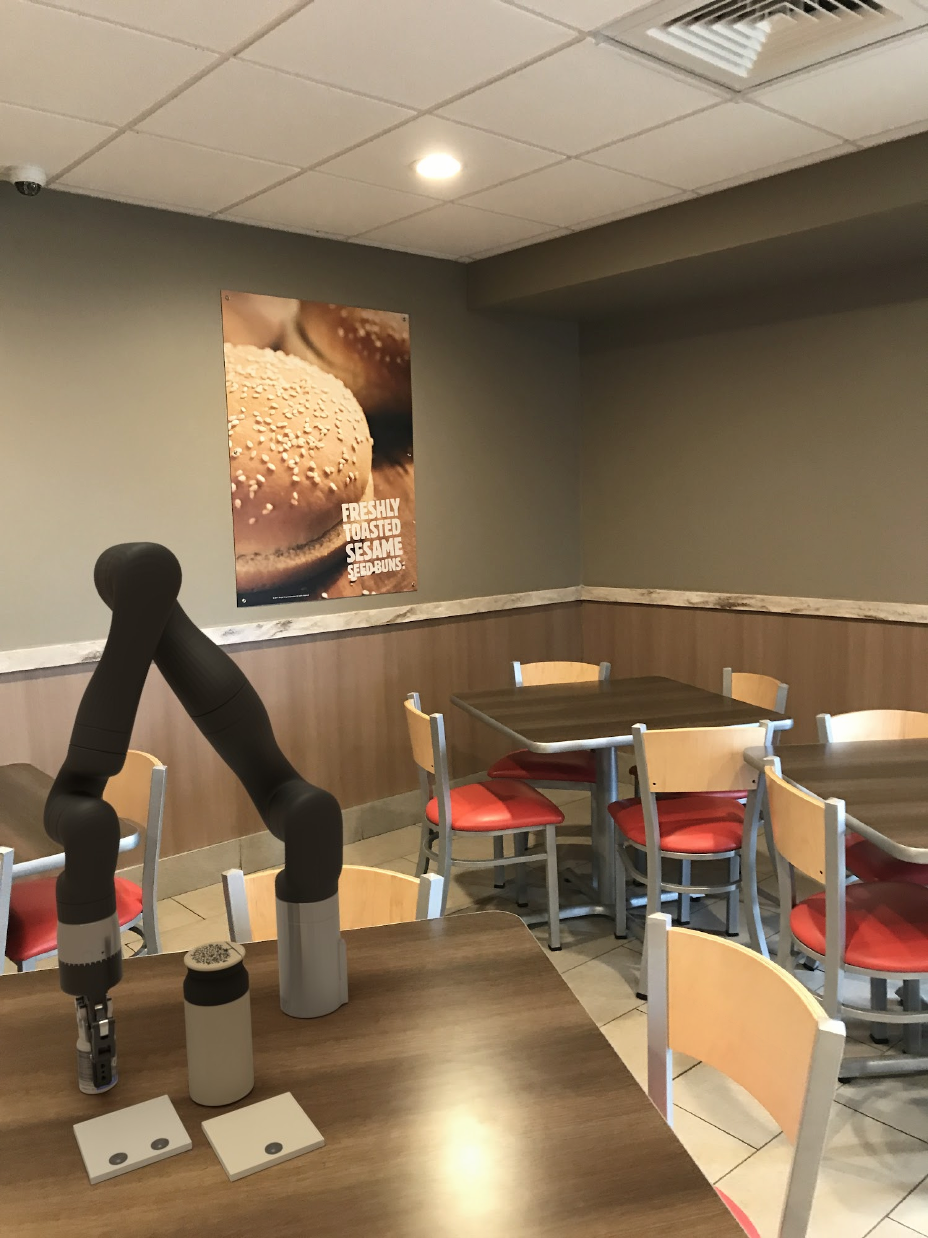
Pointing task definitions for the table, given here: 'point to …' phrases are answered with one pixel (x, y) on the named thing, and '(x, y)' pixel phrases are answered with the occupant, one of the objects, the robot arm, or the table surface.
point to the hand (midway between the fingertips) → (98, 1074)
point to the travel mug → (218, 1023)
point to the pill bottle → (86, 1066)
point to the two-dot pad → (130, 1138)
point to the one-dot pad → (261, 1135)
